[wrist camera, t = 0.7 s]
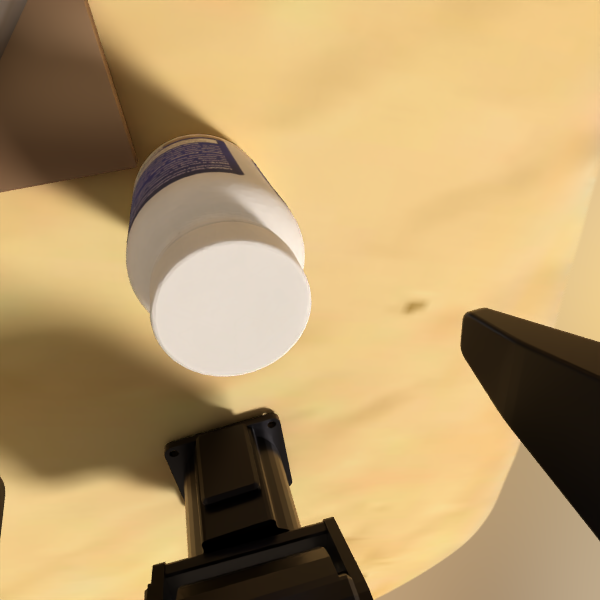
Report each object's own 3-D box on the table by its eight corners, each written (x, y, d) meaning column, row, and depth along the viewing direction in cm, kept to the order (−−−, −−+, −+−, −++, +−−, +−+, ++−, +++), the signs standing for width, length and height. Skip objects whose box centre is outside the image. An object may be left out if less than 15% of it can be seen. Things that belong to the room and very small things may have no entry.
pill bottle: (113, 228, 18) (81, 366, 10) (166, 104, 16) (173, 165, 9) (231, 275, 20) (273, 414, 13) (288, 173, 18) (374, 265, 11)
